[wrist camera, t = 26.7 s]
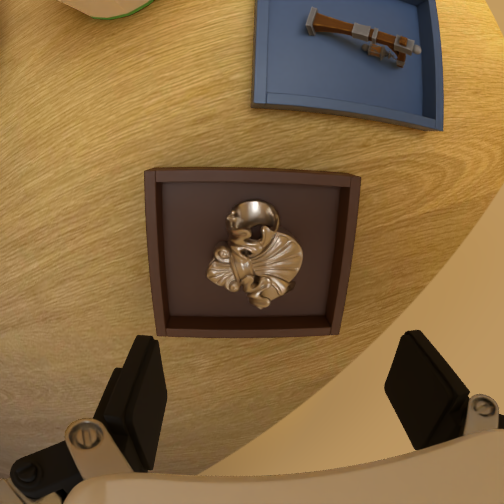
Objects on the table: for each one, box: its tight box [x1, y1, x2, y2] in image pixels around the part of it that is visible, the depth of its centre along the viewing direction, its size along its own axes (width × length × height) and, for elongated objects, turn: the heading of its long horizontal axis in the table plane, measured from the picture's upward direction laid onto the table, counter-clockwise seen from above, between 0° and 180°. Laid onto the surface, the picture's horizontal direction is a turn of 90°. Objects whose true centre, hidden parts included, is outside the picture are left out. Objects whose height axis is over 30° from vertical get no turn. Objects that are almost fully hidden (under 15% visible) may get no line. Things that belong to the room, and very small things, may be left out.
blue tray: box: [251, 0, 444, 131], centre depth 18 cm, size 15×13×3 cm
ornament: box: [206, 199, 303, 310], centre depth 22 cm, size 8×7×4 cm
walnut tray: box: [144, 167, 361, 338], centre depth 23 cm, size 15×13×3 cm
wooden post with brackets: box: [306, 7, 421, 68], centre depth 17 cm, size 2×8×4 cm, turn 73°
